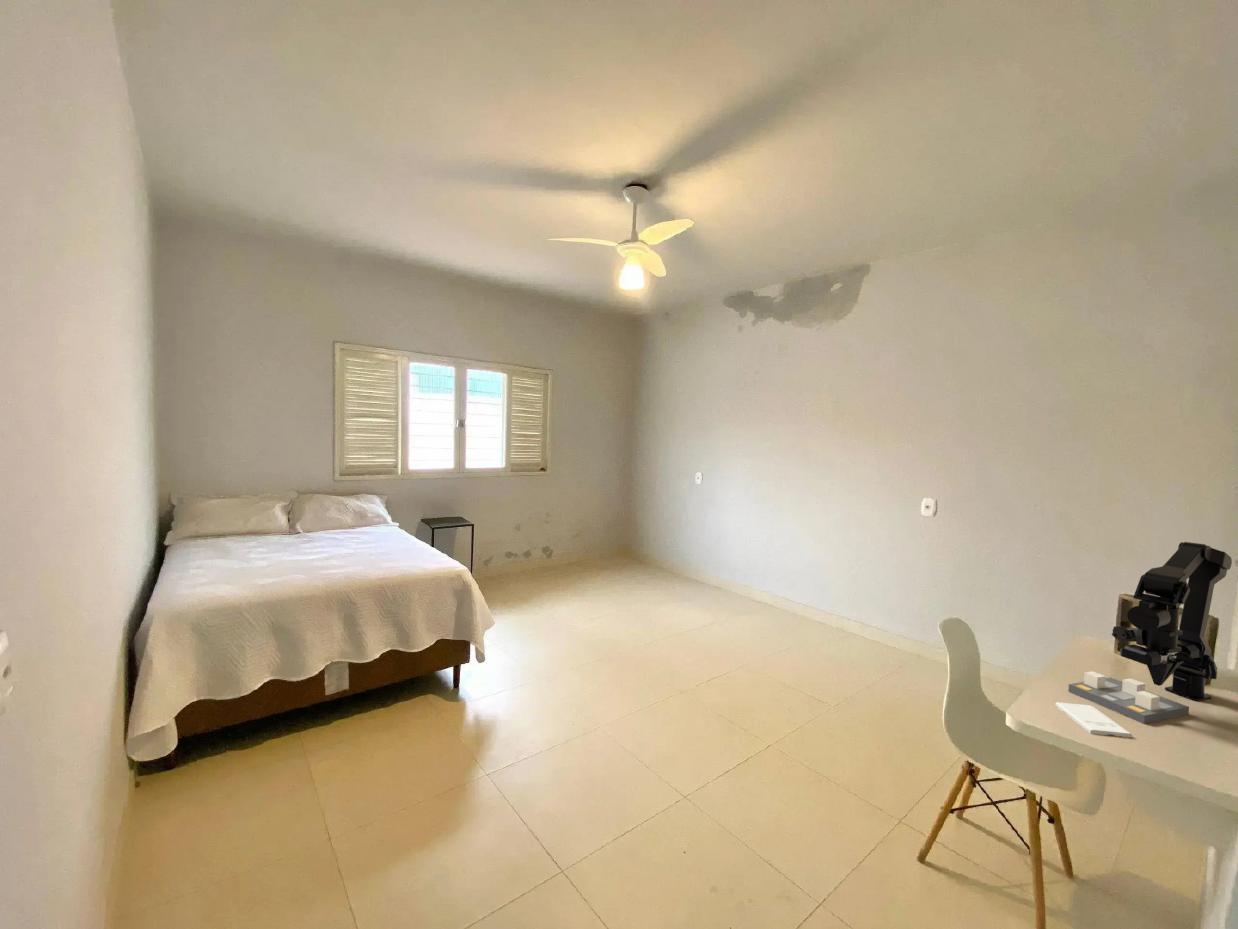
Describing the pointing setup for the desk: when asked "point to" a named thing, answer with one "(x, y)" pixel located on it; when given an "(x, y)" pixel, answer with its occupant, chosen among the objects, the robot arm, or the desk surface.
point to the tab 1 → (1094, 679)
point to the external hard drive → (1092, 720)
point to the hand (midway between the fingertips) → (1157, 684)
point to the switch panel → (1128, 702)
